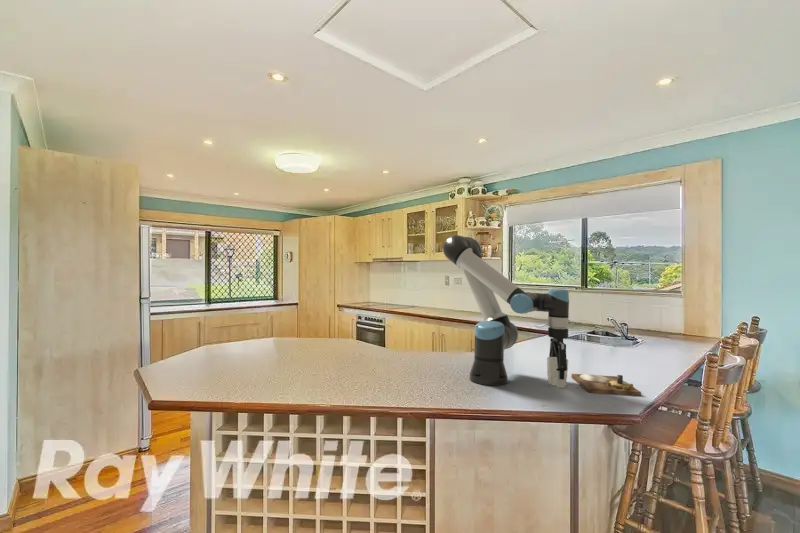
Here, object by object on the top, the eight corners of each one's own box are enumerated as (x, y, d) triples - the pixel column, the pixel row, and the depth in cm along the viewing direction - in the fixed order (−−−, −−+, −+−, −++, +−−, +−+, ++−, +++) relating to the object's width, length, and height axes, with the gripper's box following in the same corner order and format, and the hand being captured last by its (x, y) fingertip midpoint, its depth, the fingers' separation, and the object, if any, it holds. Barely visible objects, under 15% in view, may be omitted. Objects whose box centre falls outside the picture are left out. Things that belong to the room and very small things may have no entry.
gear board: (588, 392, 141) (589, 377, 141) (571, 377, 162) (571, 363, 162) (640, 396, 138) (641, 380, 138) (616, 380, 159) (616, 366, 159)
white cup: (564, 381, 154) (564, 357, 155) (570, 387, 147) (571, 361, 147) (544, 380, 155) (544, 356, 155) (549, 386, 147) (550, 360, 148)
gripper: (577, 332, 140) (576, 392, 139) (560, 324, 162) (559, 376, 161) (555, 331, 141) (554, 391, 140) (541, 323, 163) (540, 375, 162)
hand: (557, 383), depth 151 cm, fingers open, 10 cm apart
